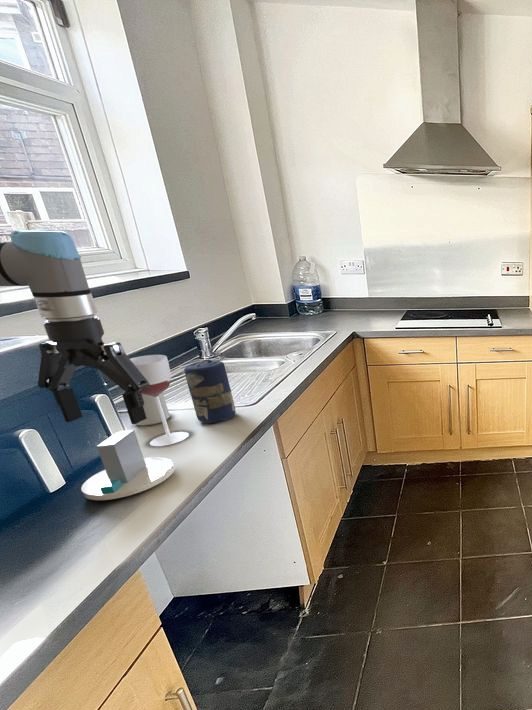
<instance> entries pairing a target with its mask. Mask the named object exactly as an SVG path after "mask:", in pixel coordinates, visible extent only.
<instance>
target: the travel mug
mask: <svg viewBox="0 0 532 710" xmlns="http://www.w3.org/2000/svg"><path fill="white" fill-rule="evenodd" d="M129 386H130V387H131V385H129ZM122 391H123V393H124V392H125V391H124V390H123V389H122ZM142 397H143V400H144V405H143V408H144V411H145V414H146V418H147V419H145V420H143V421H141V422H139V423H137V424H135V425H136V426H143V427H144V426H152V425H155V424H160V423H162V420H161V417H160V413H159V410H158V407H157V404H156V401H155V398H154V396H150V395H145V394H142ZM158 397H159V400H160V403H161V406H162V409H163V412H164V416H165V419H166V420H168V419H169V418H170V417H171V413H170V411H169V408H168V404H167V402H166V400H165V396H164V393H163V392H162V393H161V394H159V395H158Z"/></svg>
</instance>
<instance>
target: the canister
mask: <svg viewBox="0 0 532 710" xmlns="http://www.w3.org/2000/svg"><path fill="white" fill-rule="evenodd" d="M183 371H184V376H185V380H186V384H187V386H188V391H189V395H190V397H191V401H192V405H193V409H194V412H195V415H196V419H197V420H198V421H199V422H201V423H203V424H213V423H219V422H223V421H226V420H229V419H231V418H233V417H234V416H235V415H236V413H237V412H236V406H235V401H234V398H233V397H234V396H233V393H232V389H231V385H230V382H229V378H228V373H227V369H226V365H225V363H224V362H223V361H222V360H216V359H215V360H214V359H203V360H201V361H196V362H195V361H194V362H192V363H189V364H187V365H185V367H184V369H183Z"/></svg>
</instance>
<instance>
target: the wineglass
mask: <svg viewBox="0 0 532 710" xmlns="http://www.w3.org/2000/svg"><path fill="white" fill-rule="evenodd" d="M129 359H130V360H131V361H132V362H133V364H134V365H135V366H136V367H137V368H138V370H139V371H140V372H141V373H142V375H143V376H144V377H145V378H146V380H147V381H148V382H149V384H150V386H148V387H146V388H143V389H141V393H142V394H145V395H150V396H154V398H155V401H156V404H157V407H158V410H159V413H160V417H161V420H162V422H161V423H162V427H163V429H164V432H165V434H162V435H159V436H157V437H155V438H153V439H152V440H150V442H149V445H150V446H152V447H165V446H171V445H174V444H178V443H179V442H182V441H184V440H186V439H187V438H188V437H189V436H190V433H189V432H187V431H173V432H171V431H170V428H169V425H168V422H167V419H165V416H164V412H163V409H162V406H161V403H160V400H159V397H158V395H159V394H161V393H162V392H165V391H166V390H167V389H168V388H169V386H170V385H171V380H172V373H171V368H170V363H169V360H168V356H167V355H165V354H148V355H140V356H136V357H131V358H129ZM139 383H140V382H139Z"/></svg>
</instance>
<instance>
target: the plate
mask: <svg viewBox="0 0 532 710" xmlns="http://www.w3.org/2000/svg"><path fill="white" fill-rule="evenodd" d="M96 449H97V452H98V454H99V457H100V459H101V463H102V465H103V467H104V469H103V470H101V471H99V472H97V473H95V474H94V475H92V476H91V477H89V478H88V479H87V480H85V482H83V484H82V485H81V488H80V490H81V492H82V495H83V497H84V498H86V499H87V500H91V501H110V500H116V499H121V498H125V496H126V497H130V496H134V495H136V493H137V494H139V492H140V493H142V492H144V490H145V491H147V490H149V489H151V488H154V487H155V486H157V485H159V484H161V483H163V482H164V481H165V480H167V479H169V477H171V475H172V474H173V473H174V471H175V465H174V462H173V460H172V459H170V458H168V457H163V456H153V457H152V456H151V457H144V454H143V451H142V448H141V446H140V443H139V441H138V437H137V435H136V432H135V429H127V430H117V431H116V432H115V433H113V434H112V435H110V436H109V437H107V438H106V439H105V440H103V441H102V442H101V443H99V444H98V445H96ZM141 491H142V492H141ZM133 494H134V495H133ZM129 495H130V496H129Z"/></svg>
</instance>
